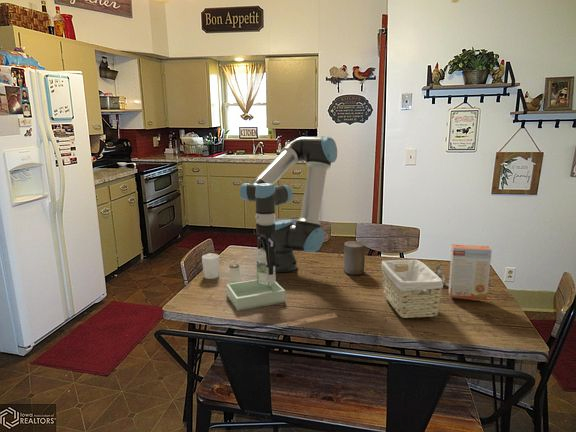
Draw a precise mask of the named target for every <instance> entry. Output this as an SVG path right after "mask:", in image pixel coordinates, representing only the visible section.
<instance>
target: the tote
mask: <svg viewBox="0 0 576 432" xmlns="http://www.w3.org/2000/svg"><path fill="white" fill-rule="evenodd" d="M226 297H227V299H228V300H229V301H230V303H231V304H232V306H233V307H234V309H235V310H236V311H237V312H239V311H240V312H241V311H245V310H251V309H256V308H261V307H266V306H267V307H268V306H272V305H279V304H283V303H286V290H285V289H284V288H283V287H282V286H281V285H280V284H279V283H278V281H276V282H275V283H274V284H272V285H271V286H265V285H259V284H257V279H252V280H246V281H245V280H244V281H241V282H237V283H231V284H229V283H226Z"/></svg>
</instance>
